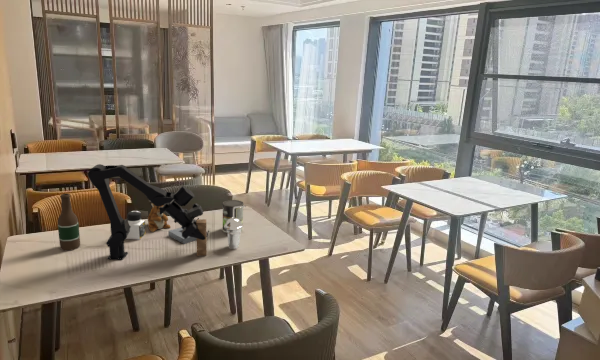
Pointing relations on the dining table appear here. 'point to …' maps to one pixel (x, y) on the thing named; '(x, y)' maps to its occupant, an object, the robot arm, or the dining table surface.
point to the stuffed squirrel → (157, 219)
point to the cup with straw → (233, 230)
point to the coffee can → (228, 211)
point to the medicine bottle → (136, 225)
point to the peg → (200, 243)
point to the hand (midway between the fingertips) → (204, 237)
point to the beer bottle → (68, 226)
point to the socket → (178, 236)
